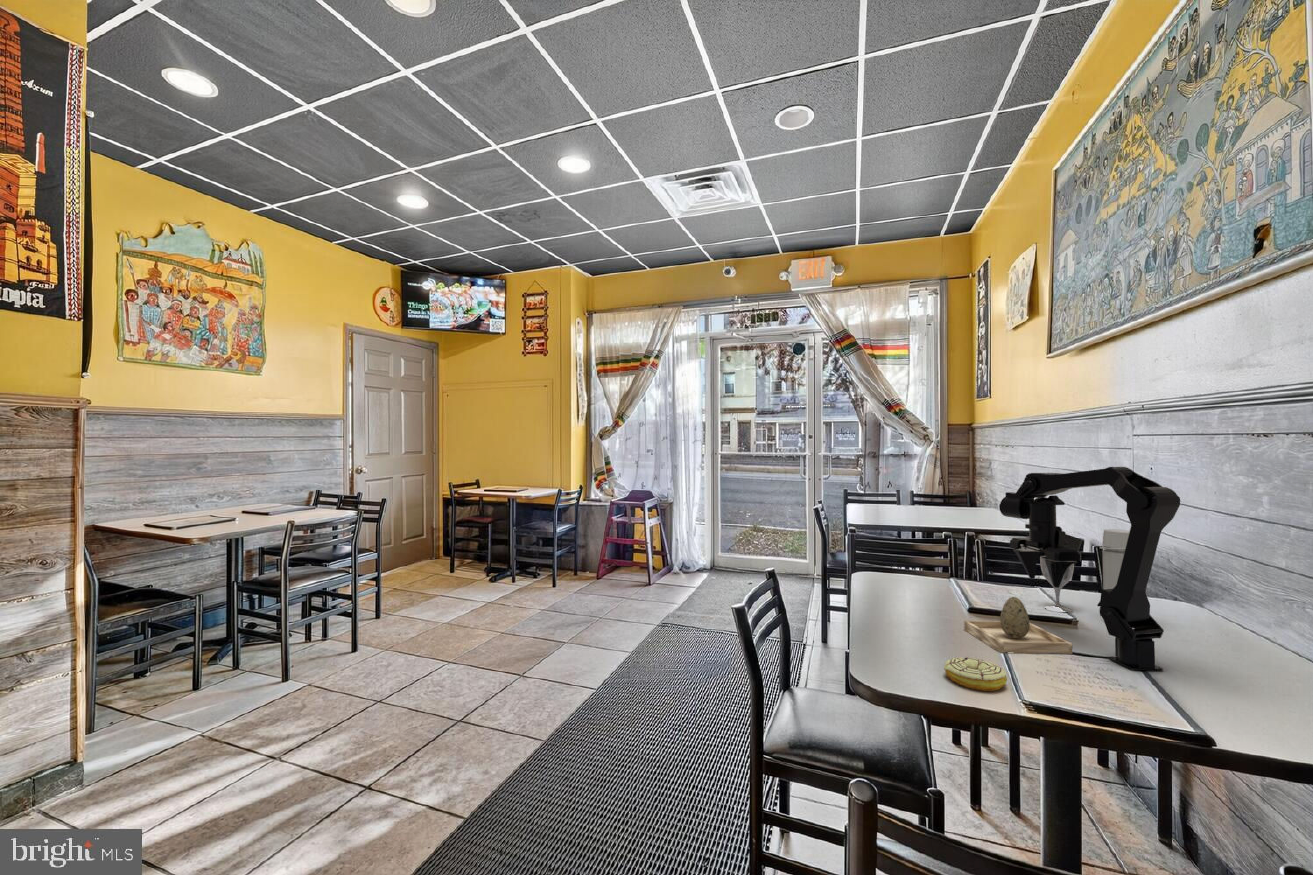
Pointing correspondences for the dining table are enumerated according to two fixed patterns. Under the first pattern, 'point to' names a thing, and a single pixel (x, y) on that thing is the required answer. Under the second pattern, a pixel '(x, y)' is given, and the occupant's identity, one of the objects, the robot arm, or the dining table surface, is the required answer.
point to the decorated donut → (975, 673)
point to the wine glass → (1065, 580)
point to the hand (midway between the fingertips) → (1043, 582)
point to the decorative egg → (1014, 618)
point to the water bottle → (1113, 555)
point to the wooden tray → (1030, 643)
